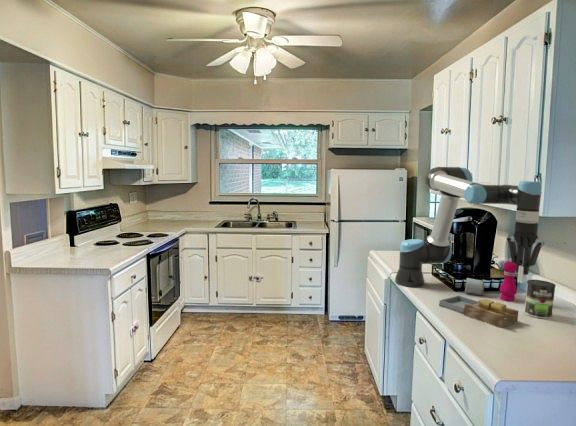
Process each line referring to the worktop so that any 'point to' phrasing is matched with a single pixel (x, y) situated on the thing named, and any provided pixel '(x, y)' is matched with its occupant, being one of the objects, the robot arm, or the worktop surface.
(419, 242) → the robot arm
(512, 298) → the pepper mill
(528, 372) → the worktop surface
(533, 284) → the coffee can
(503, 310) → the yellow cube
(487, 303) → the tan cube
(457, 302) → the tray
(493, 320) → the channel bar
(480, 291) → the ceramic mug
